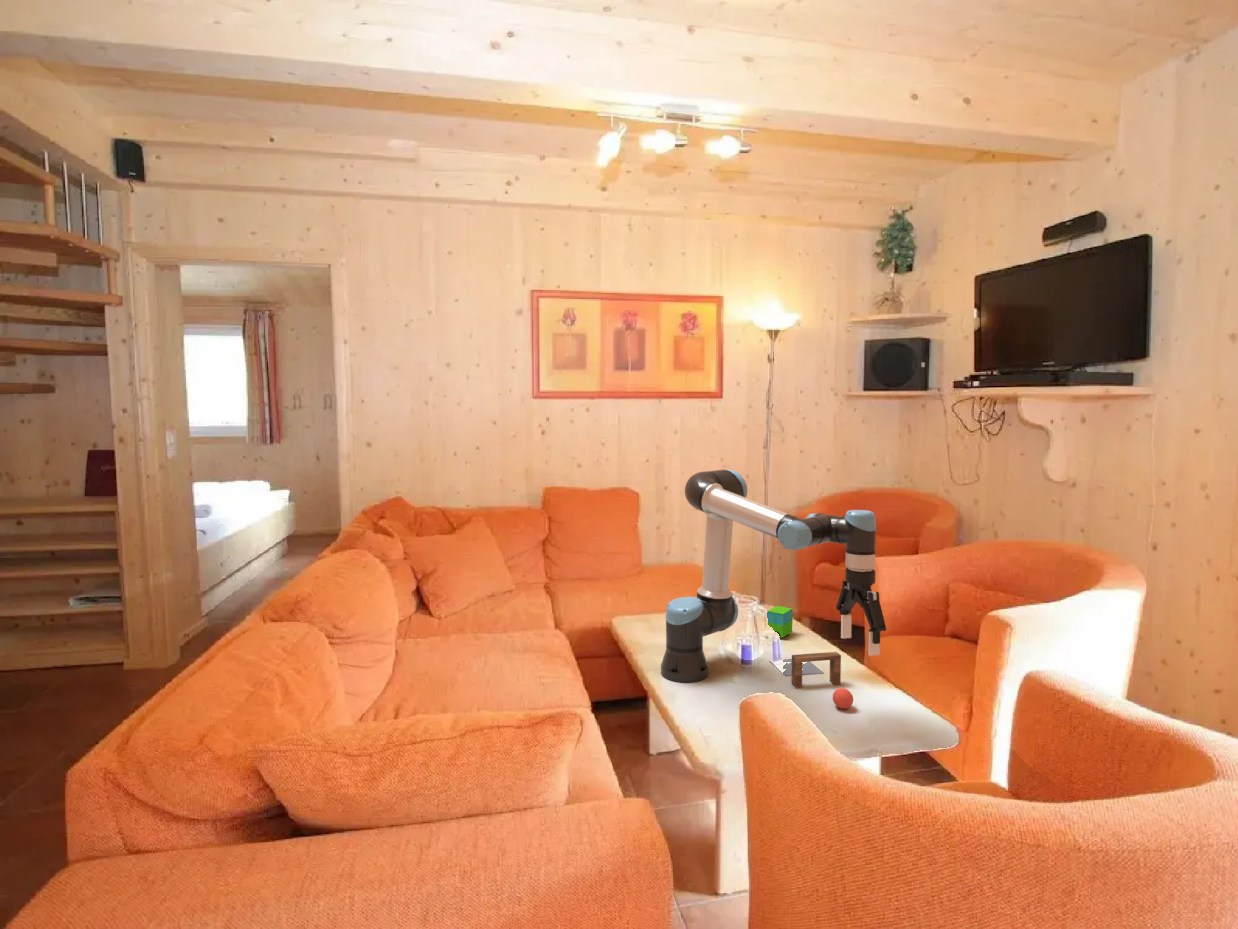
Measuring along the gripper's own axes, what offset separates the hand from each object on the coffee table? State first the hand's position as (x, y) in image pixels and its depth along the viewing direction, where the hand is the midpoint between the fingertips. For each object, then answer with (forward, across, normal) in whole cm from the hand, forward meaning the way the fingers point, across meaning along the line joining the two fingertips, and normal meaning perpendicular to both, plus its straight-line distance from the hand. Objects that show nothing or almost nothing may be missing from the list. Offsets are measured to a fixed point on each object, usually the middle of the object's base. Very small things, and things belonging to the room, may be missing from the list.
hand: (859, 646), depth 173 cm
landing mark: (+20, +36, +1) cm, 41 cm away
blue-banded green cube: (+20, +68, -5) cm, 71 cm away
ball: (+17, +6, +1) cm, 18 cm away
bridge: (+20, +22, +1) cm, 30 cm away
